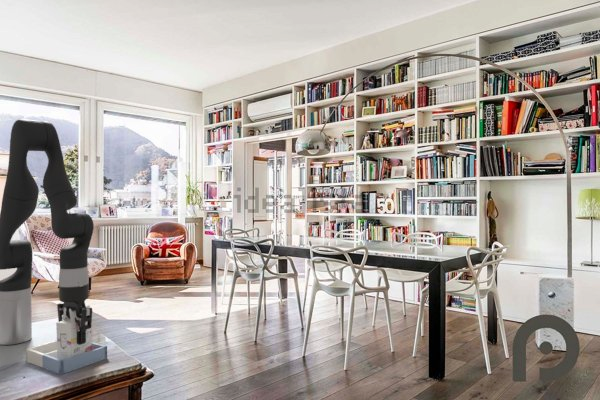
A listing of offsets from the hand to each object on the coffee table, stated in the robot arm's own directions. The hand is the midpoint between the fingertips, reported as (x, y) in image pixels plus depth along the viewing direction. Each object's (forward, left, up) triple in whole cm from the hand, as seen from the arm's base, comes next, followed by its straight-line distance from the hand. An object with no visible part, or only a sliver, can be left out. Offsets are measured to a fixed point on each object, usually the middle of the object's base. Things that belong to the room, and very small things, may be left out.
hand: (74, 341), depth 124 cm
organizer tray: (-4, 0, -6) cm, 7 cm away
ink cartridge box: (0, 0, -5) cm, 5 cm away
